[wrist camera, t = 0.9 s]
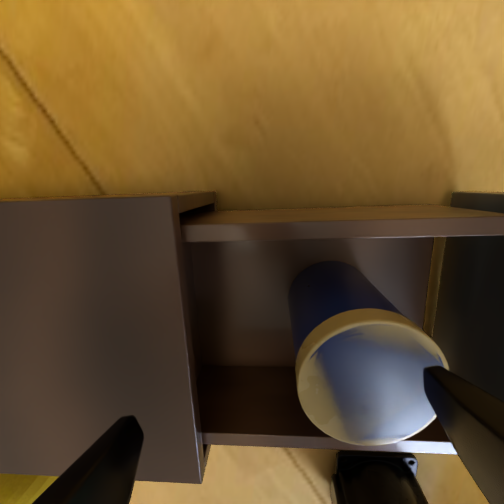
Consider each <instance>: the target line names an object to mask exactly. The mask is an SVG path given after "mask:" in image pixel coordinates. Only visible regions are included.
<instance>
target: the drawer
mask: <svg viewBox="0 0 504 504" xmlns="http://www.w3.org/2000/svg"><path fill="white" fill-rule="evenodd" d="M179 220H180V230H181V239H182V249H183V259H184V269H185V278H186V288H187V298H188V307H189V317H190V327H191V337H192V346H193V356H194V366H195V376H196V385H197V395H198V405H199V414H200V424H201V434H202V444H212V445H237V446H262V447H286V448H311V449H336V450H361V451H386V452H411V453H436V454H457V452H456V451H455V449H454V447H453V445H452V443H451V441H450V440H449V438H448V436H447V434H446V432H445V430H444V428H443V427H442V425H441V423H440V421H439V419H438V417H436V418H435V419H434V420H433V421H432V422H431V423H430V424H429V425H428V426H427V427H426V428H424V429H423V430H422V431H420V432H419V433H417V434H415V435H413V436H412V437H409V438H407V439H405V440H402V441H399V442H396V443H392V444H387V445H379V446H362V445H355V444H350V443H346V442H343V441H340V440H338V439H335V438H333V437H331V436H329V435H328V434H326V433H324V432H323V431H322V430H320V429H319V428H318V427H317V426H316V425H315V424H313V423H312V421H311V420H310V419H309V418H308V416H307V415H306V413H305V412H304V410H303V408H302V406H301V404H300V401H299V397H298V393H297V385H296V377H295V364H296V359H295V351H294V344H293V336H292V328H291V321H290V313H289V306H288V295H289V290H290V287H291V285H292V283H293V281H294V280H295V278H296V277H297V276H298V275H299V274H300V273H301V272H302V271H303V270H304V269H306V268H307V267H309V266H311V265H313V264H316V263H319V262H323V261H339V262H343V263H346V264H349V265H351V266H353V267H354V268H356V269H357V270H358V271H360V272H361V273H362V274H363V275H364V276H365V277H366V278H367V279H368V280H369V281H370V282H371V283H372V284H373V285H374V286H375V287H376V288H377V289H378V290H379V291H380V292H381V293H382V294H383V295H384V296H385V297H386V298H387V299H388V300H389V301H390V302H391V303H392V304H393V305H394V306H395V307H396V308H397V309H398V310H399V311H400V312H401V313H402V314H403V315H404V316H405V317H406V318H408V319H409V320H411V321H413V322H414V323H415V324H416V325H418V326H419V327H420V328H421V329H422V328H423V321H424V313H425V305H426V297H427V289H428V281H429V273H430V266H431V258H432V250H433V242H434V237H446V242H445V249H444V256H443V263H442V271H441V278H440V285H439V292H438V299H437V307H436V314H435V321H434V328H433V336H432V340H433V341H434V342H435V343H436V344H437V345H438V346H439V348H440V349H441V351H442V352H443V354H444V356H445V358H446V360H447V363H448V367H449V371H451V372H453V373H454V374H456V375H458V376H460V377H461V378H463V379H465V380H467V381H469V382H470V383H472V384H474V385H476V386H477V387H479V388H481V389H483V390H485V391H486V392H488V393H490V394H492V395H493V396H495V397H497V398H499V399H500V400H502V401H504V192H482V191H462V192H453V193H452V198H451V205H450V207H448V206H440V205H432V204H426V205H395V206H363V207H331V208H300V209H268V210H237V211H205V212H182V213H179Z"/></svg>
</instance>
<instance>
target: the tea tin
mask: <svg viewBox="0 0 504 504" xmlns="http://www.w3.org/2000/svg"><path fill="white" fill-rule="evenodd" d="M288 306H289V313H290V321H291V328H292V336H293V344H294V351H295V359H296V364H295V377H296V385H297V393H298V397H299V401H300V404H301V406H302V408H303V410H304V412H305V413H306V415H307V416H308V418H309V419H310V420H311V421H312V423H313V424H315V425H316V426H317V427H318V428H319V429H320V430H322V431H323V432H324V433H326V434H328V435H329V436H331V437H333V438H335V439H338V440H340V441H343V442H346V443H350V444H355V445H362V446H379V445H387V444H392V443H396V442H399V441H402V440H405V439H407V438H409V437H412V436H413V435H415V434H417V433H419V432H420V431H422V430H423V429H424V428H426V427H427V426H428V425H429V424H430V423H431V422H432V421H433V420H434V419H435V418H436V417H437V416H436V414H435V412H434V410H433V408H432V406H431V404H430V403H429V401H428V399H427V397H426V394H425V391H424V382H423V369H424V367H428V366H434V365H439V366H442V367H444V368H446V369H447V370H449V367H448V363H447V360H446V358H445V356H444V354H443V352H442V351H441V349H440V348H439V346H438V345H437V344H436V343H435V342H434V341H433V340H432V339H431V338H430V337H429V336H428V335H427V334H426V333H425V332H424V331H423V330H422V329H421V328H420V327H419V326H418V325H416V324H415V323H414V322H413V321H411V320H409V319H408V318H406V317H405V316H404V315H403V314H402V313H401V312H400V311H399V310H398V309H397V308H396V307H395V306H394V305H393V304H392V303H391V302H390V301H389V300H388V299H387V298H386V297H385V296H384V295H383V294H382V293H381V292H380V291H379V290H378V289H377V288H376V287H375V286H374V285H373V284H372V283H371V282H370V281H369V280H368V279H367V278H366V277H365V276H364V275H363V274H362V273H361V272H360V271H358V270H357V269H356V268H354V267H353V266H351V265H349V264H346V263H343V262H339V261H323V262H319V263H316V264H313V265H311V266H309V267H307V268H306V269H304V270H303V271H302V272H301V273H300V274H299V275H298V276H297V277H296V278H295V280H294V281H293V283H292V285H291V287H290V290H289V295H288Z"/></svg>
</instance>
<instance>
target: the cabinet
mask: <svg viewBox="0 0 504 504" xmlns="http://www.w3.org/2000/svg"><path fill="white" fill-rule="evenodd" d="M205 211H217V199H216V191H194V192H167V193H141V194H115V195H88V196H62V197H36V198H9V199H0V473H1V474H21V475H40V476H60V475H61V474H62V473H63V472H64V471H66V470H67V469H68V468H69V467H70V466H71V465H72V464H73V463H74V462H75V461H76V460H77V459H78V458H79V457H80V456H81V455H82V454H83V453H84V452H85V451H86V450H87V449H88V448H89V447H90V446H91V445H92V444H93V443H94V442H95V441H96V440H97V439H98V438H99V437H100V436H102V435H103V434H104V433H105V432H106V431H107V430H108V429H109V428H110V427H111V426H112V425H113V424H114V423H115V422H116V421H117V420H118V419H119V418H120V417H123V416H128V415H134V416H135V417H136V419H137V421H138V422H139V424H140V426H141V428H142V430H143V433H144V442H143V446H142V451H141V455H140V460H139V464H138V469H137V473H136V477H135V481H154V482H173V483H192V484H201V483H202V481H203V476H204V472H205V467H206V464H207V460H208V455H209V451H210V447H211V444H202V434H201V424H200V414H199V405H198V395H197V385H196V376H195V366H194V356H193V346H192V337H191V327H190V317H189V307H188V298H187V288H186V278H185V269H184V259H183V249H182V239H181V230H180V220H179V213H182V212H205Z"/></svg>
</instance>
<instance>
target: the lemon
mask: <svg viewBox="0 0 504 504" xmlns="http://www.w3.org/2000/svg"><path fill="white" fill-rule="evenodd" d="M58 477H59V476H40V475H21V474H1V473H0V504H32V503H33V502H34V501H35V500H36V499H37V498H38V497H39V496H40V495H41V494H42V493H43V492H44V491H45V490H46V489H47V488H48V487H49V486H50V485H51V484H52V483H53V482H54V481H55V480H56V479H57V478H58Z"/></svg>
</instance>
